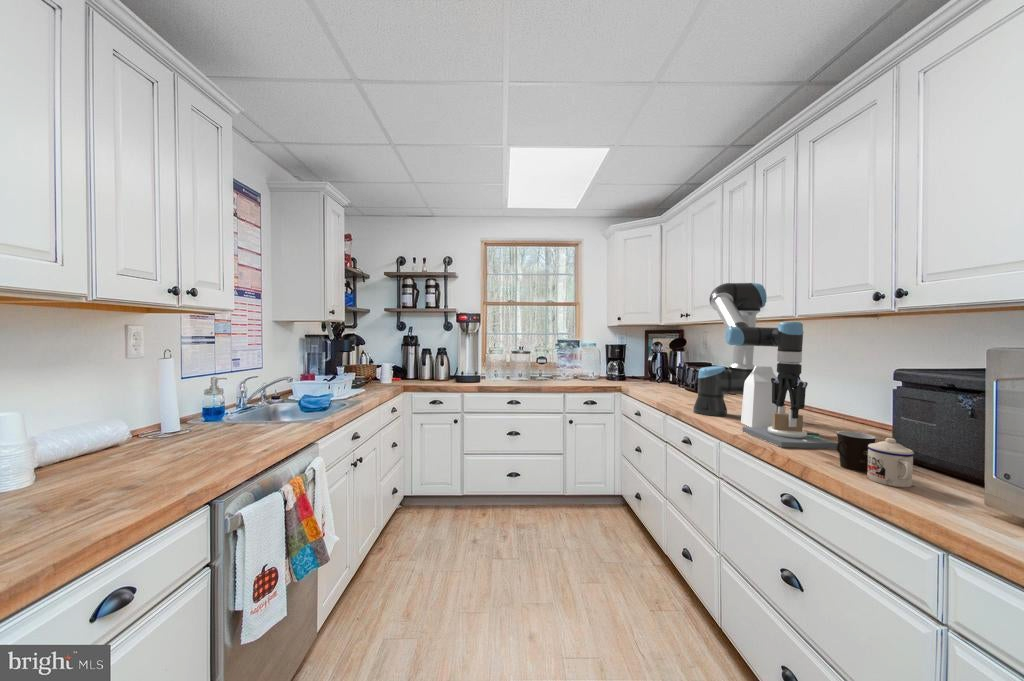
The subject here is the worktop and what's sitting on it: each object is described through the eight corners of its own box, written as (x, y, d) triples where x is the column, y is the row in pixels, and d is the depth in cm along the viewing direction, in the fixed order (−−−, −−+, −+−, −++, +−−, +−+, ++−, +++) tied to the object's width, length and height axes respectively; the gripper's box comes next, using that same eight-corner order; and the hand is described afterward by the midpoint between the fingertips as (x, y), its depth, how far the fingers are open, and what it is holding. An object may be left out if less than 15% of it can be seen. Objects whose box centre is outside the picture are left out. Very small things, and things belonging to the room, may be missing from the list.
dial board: (742, 431, 157) (742, 426, 157) (791, 432, 157) (791, 427, 157) (781, 447, 135) (781, 441, 135) (837, 448, 135) (838, 442, 135)
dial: (774, 436, 142) (775, 415, 142) (762, 428, 153) (763, 409, 153) (827, 440, 138) (827, 419, 137) (810, 432, 149) (811, 413, 149)
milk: (751, 428, 164) (753, 366, 163) (740, 422, 175) (742, 364, 175) (783, 430, 161) (785, 368, 161) (770, 424, 173) (772, 365, 172)
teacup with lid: (858, 474, 110) (859, 433, 110) (896, 477, 108) (898, 435, 108) (888, 490, 98) (890, 444, 98) (932, 494, 96) (934, 448, 96)
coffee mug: (858, 464, 119) (860, 431, 119) (882, 474, 110) (884, 439, 110) (818, 462, 120) (819, 429, 120) (838, 471, 111) (839, 437, 111)
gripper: (819, 365, 138) (816, 430, 138) (778, 361, 155) (775, 419, 155) (801, 364, 137) (799, 431, 137) (761, 361, 153) (759, 420, 154)
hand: (786, 425), depth 146 cm, fingers closed on dial, 4 cm apart
